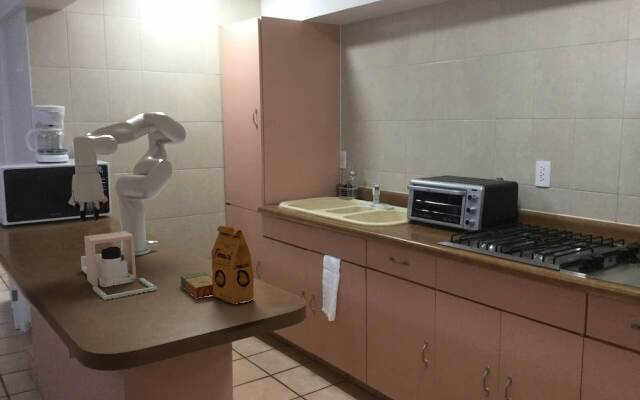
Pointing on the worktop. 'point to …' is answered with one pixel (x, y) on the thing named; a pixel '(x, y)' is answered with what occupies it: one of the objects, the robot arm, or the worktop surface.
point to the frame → (147, 283)
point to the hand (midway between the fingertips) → (89, 219)
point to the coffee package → (232, 267)
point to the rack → (102, 281)
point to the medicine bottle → (112, 265)
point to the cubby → (104, 238)
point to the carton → (198, 284)
